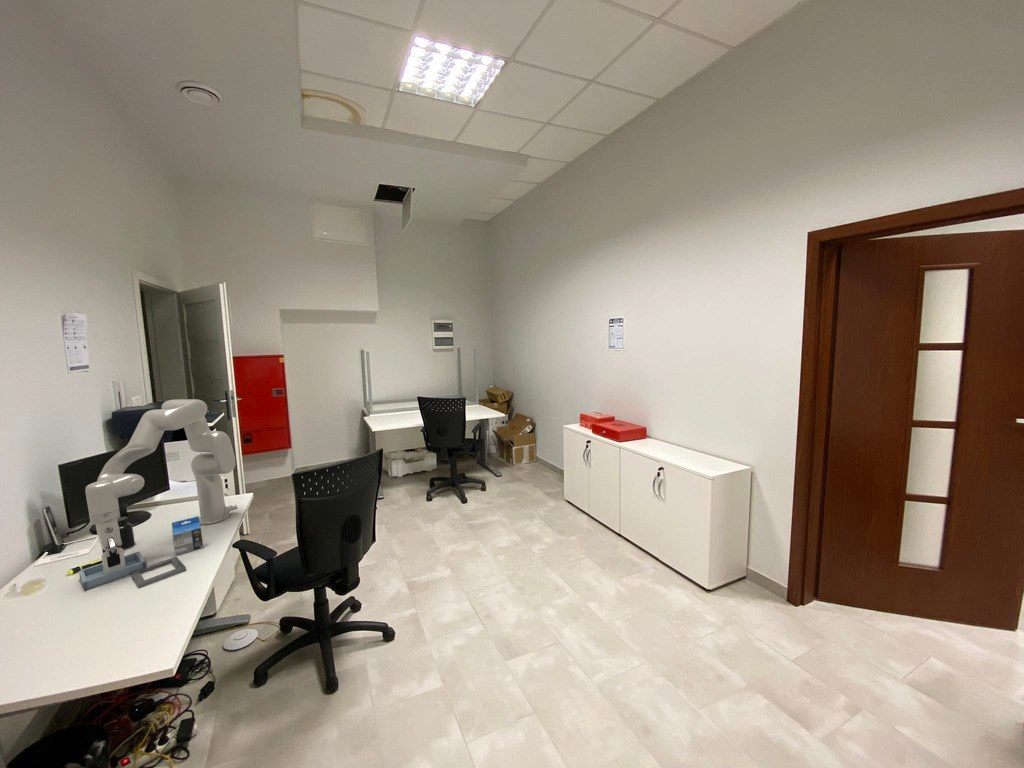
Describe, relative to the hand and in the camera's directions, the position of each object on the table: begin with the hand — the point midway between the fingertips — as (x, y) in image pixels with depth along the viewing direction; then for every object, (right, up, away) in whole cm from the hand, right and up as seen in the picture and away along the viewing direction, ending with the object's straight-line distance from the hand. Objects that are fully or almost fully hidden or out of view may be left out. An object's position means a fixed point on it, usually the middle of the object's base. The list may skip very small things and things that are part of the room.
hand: (112, 561), depth 147 cm
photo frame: (-35, -4, +19) cm, 40 cm away
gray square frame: (+17, -4, 0) cm, 17 cm away
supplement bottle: (-15, -3, +20) cm, 25 cm away
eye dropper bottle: (0, -4, +1) cm, 4 cm away
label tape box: (+15, -3, +16) cm, 22 cm away
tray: (0, -5, +1) cm, 5 cm away
